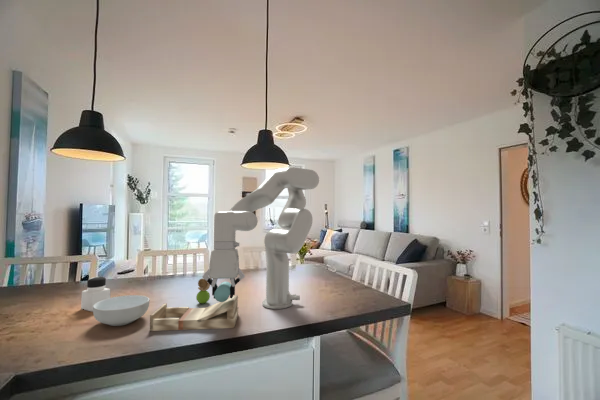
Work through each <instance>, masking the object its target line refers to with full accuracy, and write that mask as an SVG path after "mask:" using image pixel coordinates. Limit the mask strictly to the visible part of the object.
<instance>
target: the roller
mask: <svg viewBox="0 0 600 400" xmlns="http://www.w3.org/2000/svg"><path fill="white" fill-rule="evenodd" d="M230 287H231V282H229V281H223V282H221V283H220V284H219V285H218V288H217V289H216V291H215V293H214V296H213V298H214V297H215V300H216V301H217V302H218V303H219V302H224V301H226V300H227V299H228V298H230Z"/></svg>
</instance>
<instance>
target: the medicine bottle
mask: <svg viewBox="0 0 600 400" xmlns="http://www.w3.org/2000/svg"><path fill="white" fill-rule="evenodd" d="M106 282H107V278H106V277H104V276H94V277H91V278H89V279H87V285H86V286H87V288H86V289H85V290H82V291H81V299H80V301H81V303H80V305H81V306H80V310H83V309H84V311H88V312H92V313H93V306H94V304H96V303H97V302H99V301H102V300H105V299H108V298H111V291H112V290H111V289H110V288H107V287H106V286H107V284H106Z"/></svg>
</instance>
